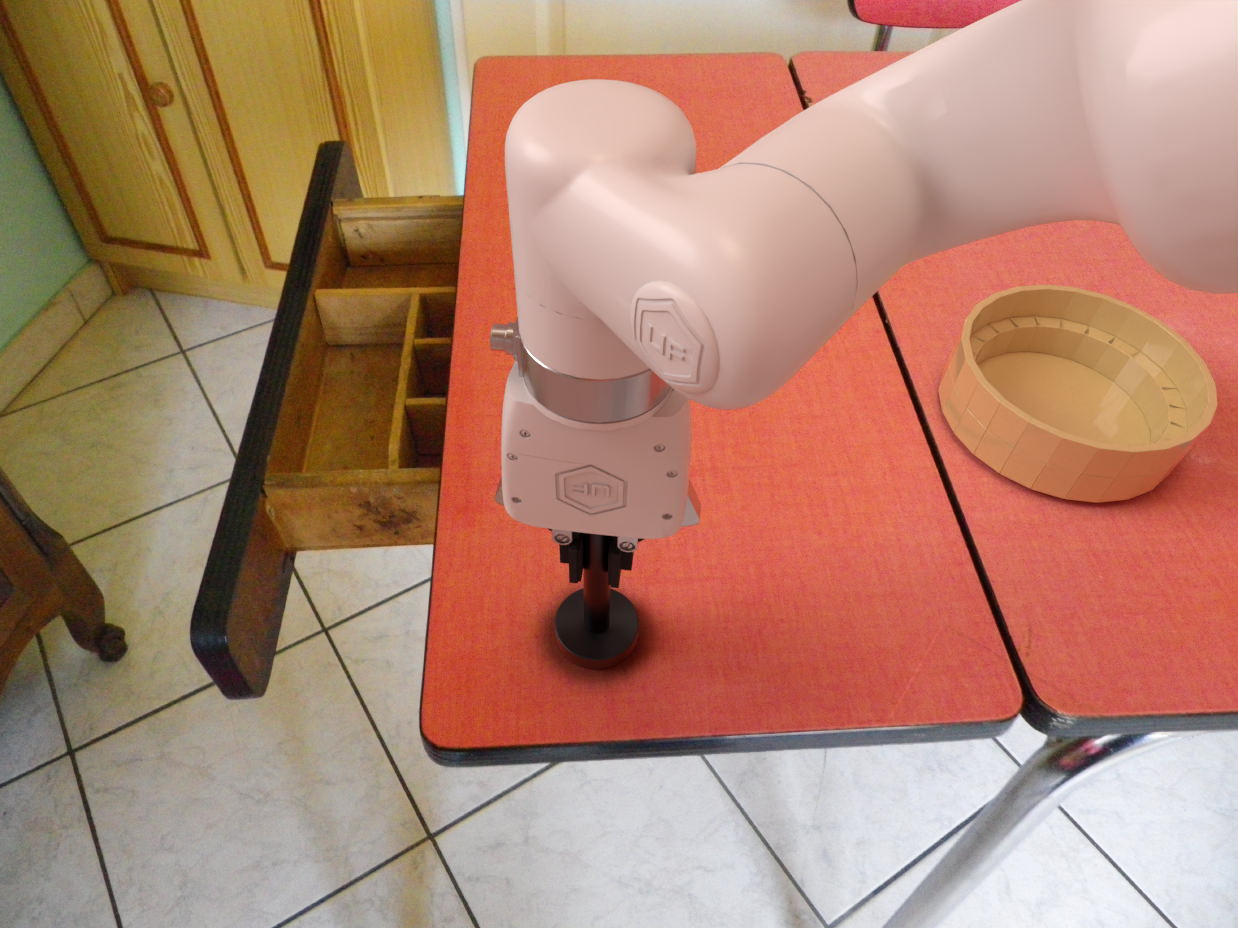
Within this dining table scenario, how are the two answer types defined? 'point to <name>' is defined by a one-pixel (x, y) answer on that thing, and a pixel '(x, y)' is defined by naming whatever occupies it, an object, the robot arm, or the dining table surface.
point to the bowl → (1075, 392)
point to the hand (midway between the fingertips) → (597, 565)
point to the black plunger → (596, 614)
